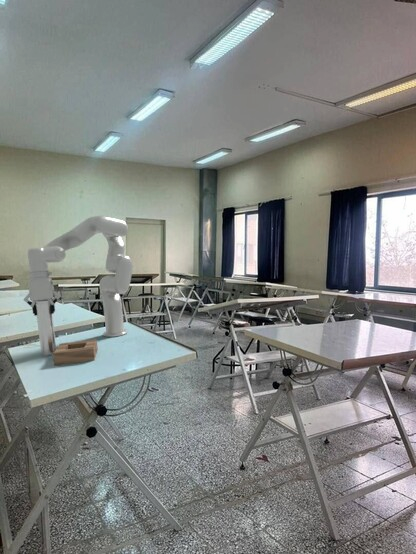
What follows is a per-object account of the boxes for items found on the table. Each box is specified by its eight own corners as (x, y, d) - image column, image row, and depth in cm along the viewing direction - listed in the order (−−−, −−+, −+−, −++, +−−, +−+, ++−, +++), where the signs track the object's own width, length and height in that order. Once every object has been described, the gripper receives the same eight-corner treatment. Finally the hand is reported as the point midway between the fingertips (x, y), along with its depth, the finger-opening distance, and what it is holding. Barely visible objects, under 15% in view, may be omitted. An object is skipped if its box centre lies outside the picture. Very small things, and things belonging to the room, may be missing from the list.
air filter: (53, 350, 177) (47, 298, 175) (59, 352, 173) (52, 299, 170) (39, 354, 173) (32, 300, 170) (44, 356, 168) (38, 301, 166)
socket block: (61, 354, 170) (60, 343, 170) (97, 349, 173) (96, 339, 173) (54, 365, 155) (52, 353, 154) (94, 360, 158) (93, 348, 157)
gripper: (61, 272, 174) (65, 310, 176) (21, 276, 171) (26, 314, 173) (58, 274, 167) (62, 313, 169) (16, 277, 164) (21, 318, 166)
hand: (44, 313), depth 171 cm, fingers closed on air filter, 6 cm apart
